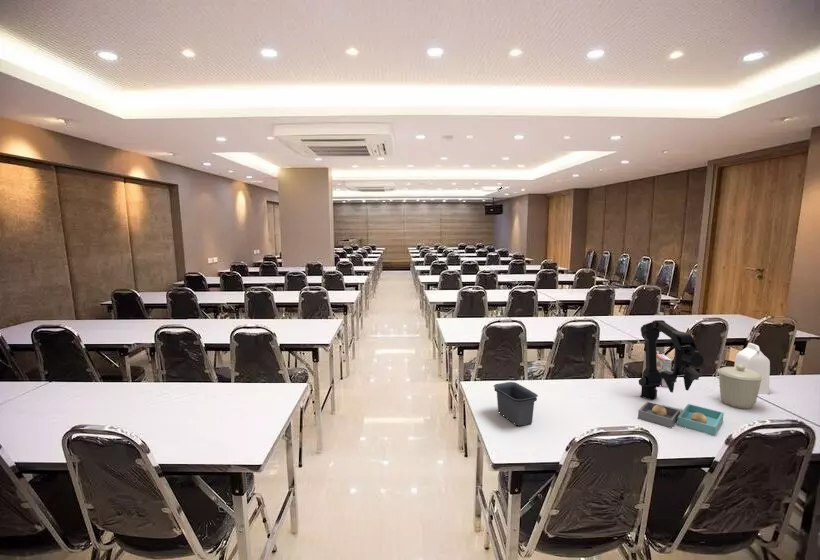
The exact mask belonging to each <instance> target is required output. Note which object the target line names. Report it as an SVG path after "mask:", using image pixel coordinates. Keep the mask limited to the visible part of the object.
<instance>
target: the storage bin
mask: <svg viewBox="0 0 820 560" xmlns="http://www.w3.org/2000/svg"><path fill="white" fill-rule="evenodd" d="M493 388H494V392H496V400H497V412H500V413H501V414H502V415H504V416H505V417H506V418H508V419H509V420H510V421H509V420H508V419H507V420H508V421H509V422H511V421H512V422H513V423H515V424H516V425H518V426H517V427H520V426H519V425H523V426H525V425H524V424H527V425H529V424H528V423H531V424H532V423H533V416H534V408H535V402H537V400H538V398H537V397H539V396H538V394H537V393H535V392H533V391H532V390H530V389H529V388H527V387H525V386H523V385H522V384H520V383H518V382H516V381H509V382H502V383H501V382H500V383H496V384H494V385H493ZM501 414H500V415H501ZM502 415H501V416H502ZM504 416H503V417H504ZM505 417H504V418H505ZM506 418H505V419H506ZM512 422H511V423H512ZM513 423H512V424H513ZM515 424H514V425H515ZM516 425H515V426H516Z"/></svg>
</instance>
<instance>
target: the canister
mask: <svg viewBox="0 0 820 560" xmlns="http://www.w3.org/2000/svg"><path fill="white" fill-rule="evenodd" d="M717 373H718V379H719V380H718V381H719V382H718V383H719V394H720V399H721V401H722V402H723V403H725V404H726V405H728V406H730V407H733V408H737V409H752V408H753V407H754V406H755V405H756V402H757V399H758V395H759V394H758V392H759V388H760V384H761V380H763V376H762V375H760V374H759V373H757V372H755V371H752V370H749V369H745V367H744V366H743V365H740V364H739V365H736V367H734V366H723V367H721V368H717Z"/></svg>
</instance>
